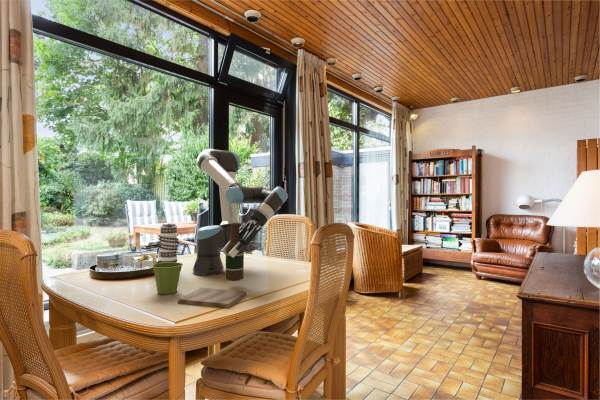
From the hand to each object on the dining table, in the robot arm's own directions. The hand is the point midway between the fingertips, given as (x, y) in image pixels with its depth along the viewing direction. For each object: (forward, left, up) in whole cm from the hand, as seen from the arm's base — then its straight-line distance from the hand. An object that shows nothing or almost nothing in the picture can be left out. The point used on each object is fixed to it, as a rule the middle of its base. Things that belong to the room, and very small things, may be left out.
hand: (227, 254), depth 144 cm
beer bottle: (+2, +3, -11) cm, 12 cm away
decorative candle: (-39, +16, -15) cm, 45 cm away
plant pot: (-20, -12, -15) cm, 28 cm away
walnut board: (+2, -15, -15) cm, 21 cm away
